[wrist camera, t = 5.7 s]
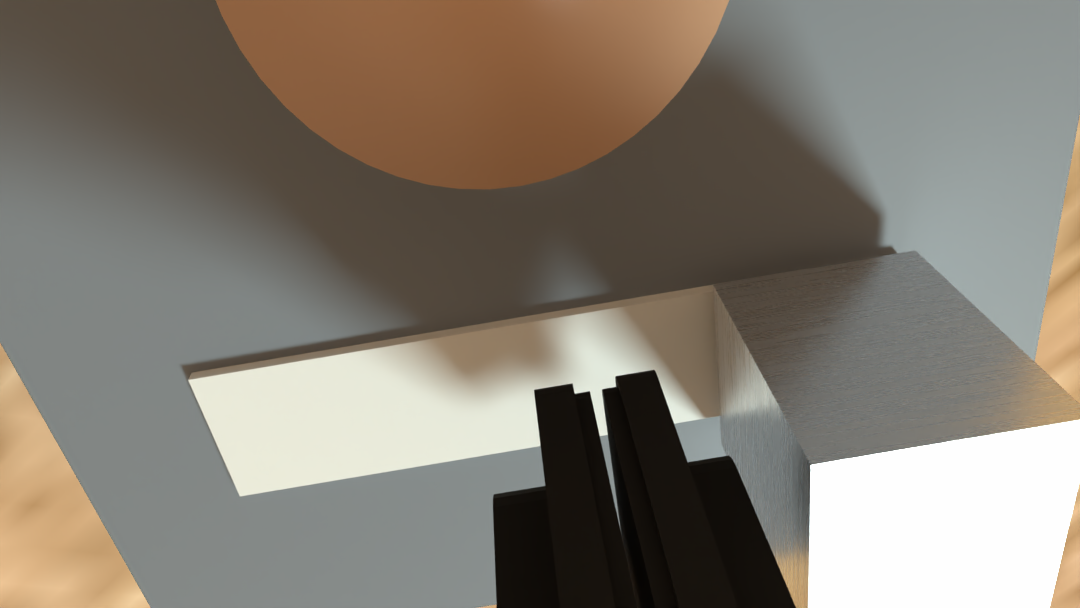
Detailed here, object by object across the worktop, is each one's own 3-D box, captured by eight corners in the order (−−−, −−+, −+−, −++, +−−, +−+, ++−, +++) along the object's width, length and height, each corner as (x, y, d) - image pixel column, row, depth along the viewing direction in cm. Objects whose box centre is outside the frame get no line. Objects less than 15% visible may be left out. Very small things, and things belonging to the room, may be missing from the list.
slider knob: (712, 284, 12) (810, 465, 9) (915, 249, 12) (1094, 417, 9) (721, 441, 14) (806, 649, 10) (901, 411, 14) (1049, 609, 10)
